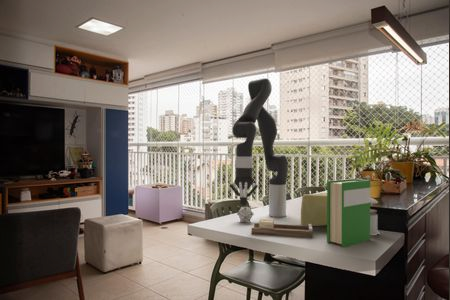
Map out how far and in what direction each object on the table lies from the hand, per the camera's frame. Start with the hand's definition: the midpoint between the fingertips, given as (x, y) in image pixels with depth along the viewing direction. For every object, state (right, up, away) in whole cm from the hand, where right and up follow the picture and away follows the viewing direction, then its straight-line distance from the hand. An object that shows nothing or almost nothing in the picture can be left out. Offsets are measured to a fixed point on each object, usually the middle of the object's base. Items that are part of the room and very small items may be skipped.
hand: (243, 205), depth 141 cm
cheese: (+38, -12, +12) cm, 42 cm away
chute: (+16, -11, -3) cm, 20 cm away
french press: (+54, -12, -1) cm, 55 cm away
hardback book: (+41, -12, -16) cm, 45 cm away
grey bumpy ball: (+2, -11, +17) cm, 21 cm away
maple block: (+10, -10, -2) cm, 14 cm away
